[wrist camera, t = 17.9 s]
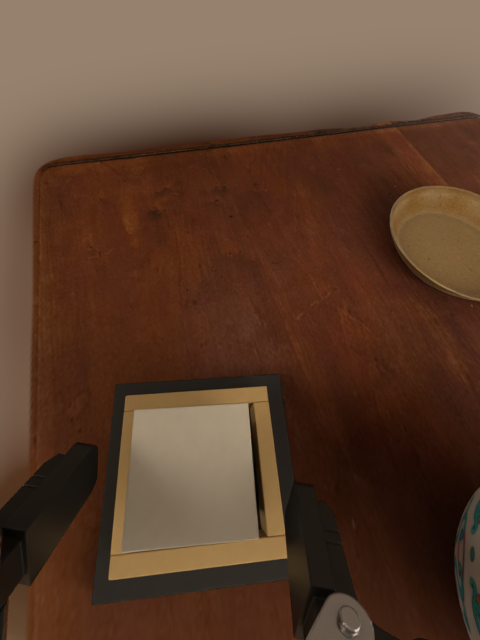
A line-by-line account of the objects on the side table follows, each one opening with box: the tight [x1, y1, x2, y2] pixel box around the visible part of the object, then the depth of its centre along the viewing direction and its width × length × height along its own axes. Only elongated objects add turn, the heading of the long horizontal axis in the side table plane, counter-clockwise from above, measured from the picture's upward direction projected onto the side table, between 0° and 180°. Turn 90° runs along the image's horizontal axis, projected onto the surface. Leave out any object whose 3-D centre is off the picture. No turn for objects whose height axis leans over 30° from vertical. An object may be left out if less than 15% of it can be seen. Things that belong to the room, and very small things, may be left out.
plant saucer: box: [390, 186, 480, 302], centre depth 30 cm, size 15×15×3 cm
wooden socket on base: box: [92, 374, 295, 605], centre depth 18 cm, size 12×12×4 cm
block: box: [121, 403, 259, 553], centre depth 15 cm, size 5×5×8 cm
